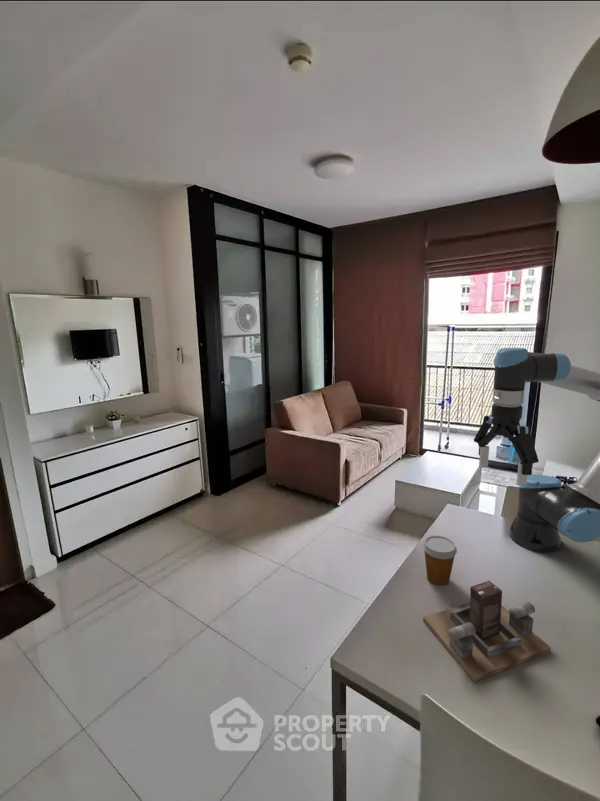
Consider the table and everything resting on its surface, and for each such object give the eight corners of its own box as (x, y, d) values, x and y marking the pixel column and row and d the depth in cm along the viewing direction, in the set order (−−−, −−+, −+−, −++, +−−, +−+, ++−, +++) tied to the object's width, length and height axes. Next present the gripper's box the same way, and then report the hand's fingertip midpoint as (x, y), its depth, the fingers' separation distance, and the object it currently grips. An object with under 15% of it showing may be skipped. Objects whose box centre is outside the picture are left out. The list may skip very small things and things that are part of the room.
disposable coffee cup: (457, 591, 108) (460, 554, 106) (423, 588, 110) (424, 551, 108) (451, 570, 117) (453, 535, 115) (419, 567, 119) (421, 533, 117)
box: (485, 620, 96) (489, 579, 94) (500, 634, 92) (504, 591, 90) (466, 627, 94) (469, 585, 92) (480, 641, 90) (484, 598, 88)
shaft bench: (492, 598, 105) (494, 574, 104) (553, 650, 88) (556, 623, 87) (420, 621, 98) (421, 596, 97) (471, 683, 81) (473, 654, 80)
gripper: (464, 397, 115) (460, 462, 120) (537, 415, 92) (529, 495, 97) (483, 394, 118) (479, 458, 122) (560, 412, 95) (551, 490, 99)
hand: (501, 475), depth 110 cm, fingers open, 13 cm apart
